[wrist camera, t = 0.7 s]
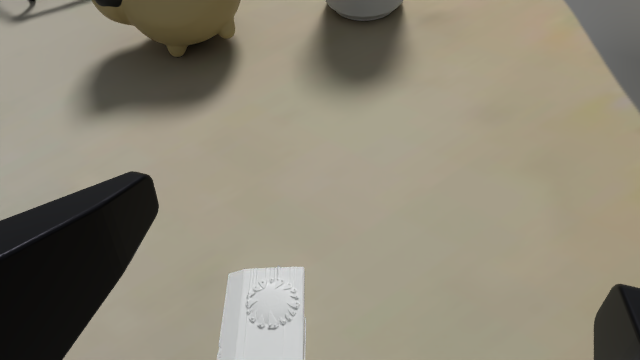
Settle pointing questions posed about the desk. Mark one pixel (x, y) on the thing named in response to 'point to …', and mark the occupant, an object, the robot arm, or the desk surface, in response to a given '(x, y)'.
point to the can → (364, 8)
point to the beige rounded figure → (174, 19)
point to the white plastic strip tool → (264, 315)
